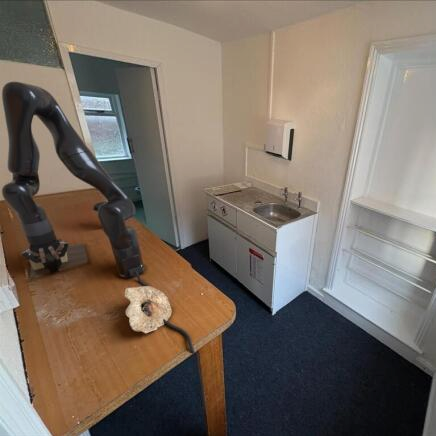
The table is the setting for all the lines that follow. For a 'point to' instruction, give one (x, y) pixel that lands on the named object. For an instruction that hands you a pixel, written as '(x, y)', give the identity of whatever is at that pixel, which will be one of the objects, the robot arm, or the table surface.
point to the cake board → (74, 257)
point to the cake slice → (63, 259)
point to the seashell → (147, 308)
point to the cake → (36, 265)
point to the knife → (51, 263)
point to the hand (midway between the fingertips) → (54, 267)
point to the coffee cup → (97, 208)
